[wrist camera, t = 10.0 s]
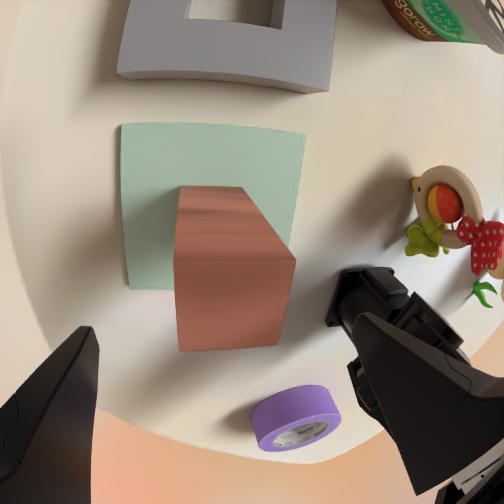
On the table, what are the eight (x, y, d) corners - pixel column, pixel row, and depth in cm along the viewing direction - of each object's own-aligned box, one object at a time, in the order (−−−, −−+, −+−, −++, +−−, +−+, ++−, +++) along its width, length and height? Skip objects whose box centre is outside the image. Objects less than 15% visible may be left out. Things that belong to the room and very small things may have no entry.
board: (278, 282, 23) (280, 286, 22) (130, 284, 20) (129, 289, 19) (303, 134, 17) (306, 134, 17) (123, 123, 15) (121, 124, 14)
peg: (236, 241, 20) (277, 344, 11) (180, 242, 19) (179, 351, 10) (241, 187, 18) (296, 260, 9) (180, 185, 17) (173, 261, 8)
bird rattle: (376, 186, 23) (404, 274, 24) (459, 166, 12) (485, 299, 13) (420, 168, 23) (444, 248, 24) (499, 148, 12) (522, 260, 13)
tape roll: (295, 427, 38) (304, 451, 34) (235, 423, 33) (242, 453, 29) (343, 386, 35) (357, 412, 30) (283, 379, 30) (296, 412, 26)
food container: (345, 0, 13) (436, -39, 4) (359, -40, 10) (436, -76, 2) (444, 77, 17) (529, 88, 8) (452, 35, 14) (528, 37, 6)
